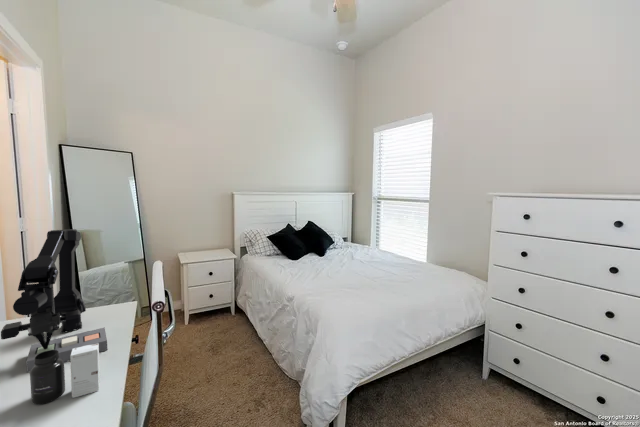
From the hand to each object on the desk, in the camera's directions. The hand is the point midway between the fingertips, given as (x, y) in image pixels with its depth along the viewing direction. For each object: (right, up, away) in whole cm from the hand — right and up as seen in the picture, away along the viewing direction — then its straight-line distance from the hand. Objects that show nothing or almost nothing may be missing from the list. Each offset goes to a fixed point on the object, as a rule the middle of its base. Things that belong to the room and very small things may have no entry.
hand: (45, 348), depth 97 cm
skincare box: (+25, -5, -14) cm, 29 cm away
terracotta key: (+9, -2, +8) cm, 12 cm away
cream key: (+5, -1, +4) cm, 6 cm away
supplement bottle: (+17, -6, -17) cm, 24 cm away
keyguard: (+5, -3, +4) cm, 7 cm away
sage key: (0, -2, 0) cm, 2 cm away
